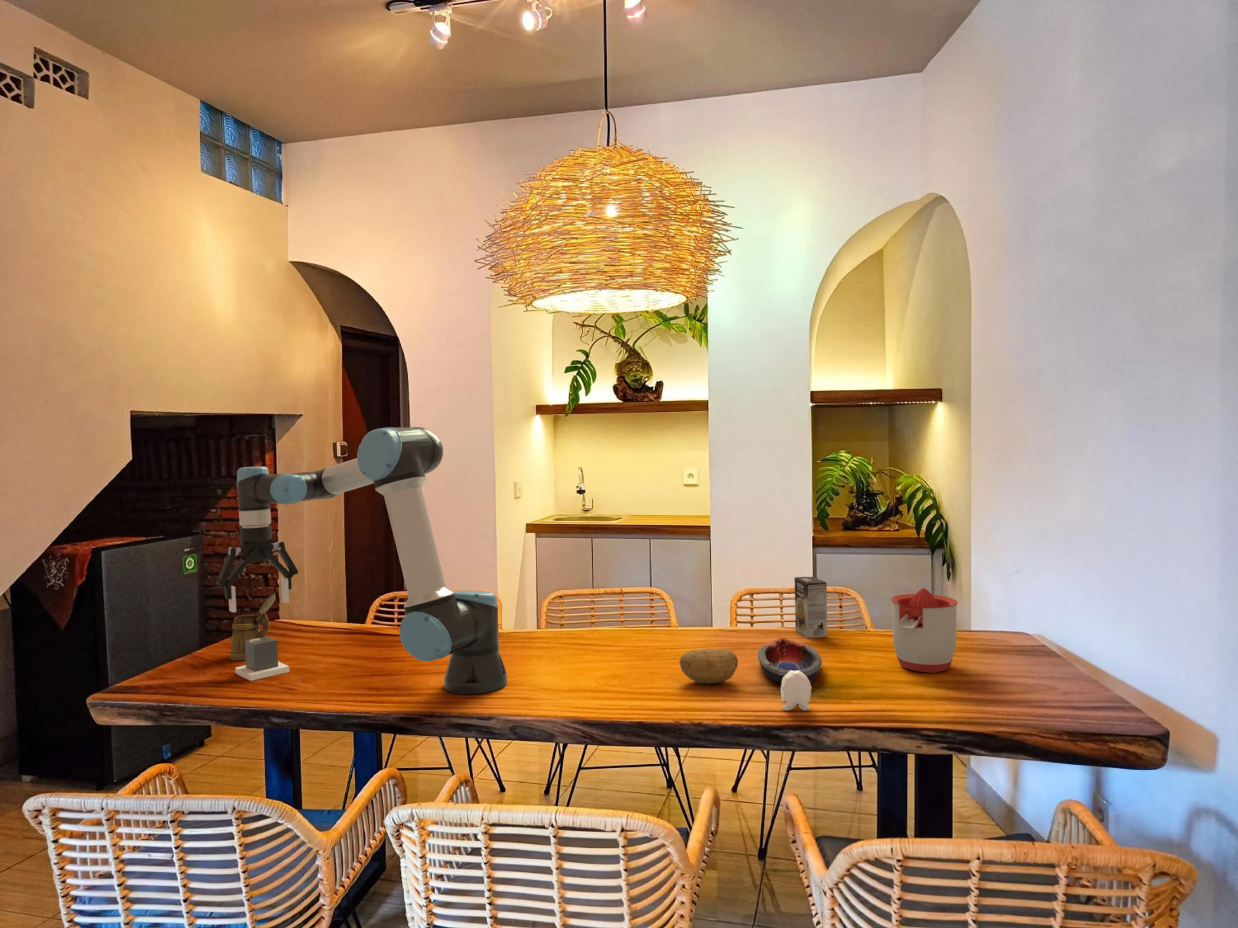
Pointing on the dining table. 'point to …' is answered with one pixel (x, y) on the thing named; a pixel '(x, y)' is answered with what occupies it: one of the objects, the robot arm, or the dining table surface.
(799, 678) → the penguin figurine
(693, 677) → the potato
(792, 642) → the dish
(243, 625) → the wooden mug
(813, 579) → the coffee box
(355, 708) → the dining table surface
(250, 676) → the white peg base
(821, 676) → the dining table surface
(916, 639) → the citrus juicer
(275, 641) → the grey rectangular block
